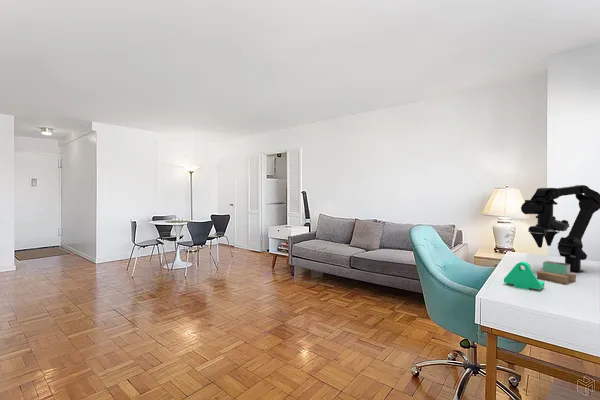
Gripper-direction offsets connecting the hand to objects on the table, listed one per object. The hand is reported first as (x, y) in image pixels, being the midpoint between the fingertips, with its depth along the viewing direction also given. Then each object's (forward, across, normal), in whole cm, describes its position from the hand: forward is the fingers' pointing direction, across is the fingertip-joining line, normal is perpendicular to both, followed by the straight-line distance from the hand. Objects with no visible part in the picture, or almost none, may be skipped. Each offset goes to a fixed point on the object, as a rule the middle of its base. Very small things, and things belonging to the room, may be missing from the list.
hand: (544, 246), depth 144 cm
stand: (+12, -12, -9) cm, 19 cm away
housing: (+9, -12, -9) cm, 17 cm away
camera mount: (+12, -34, -6) cm, 36 cm away
